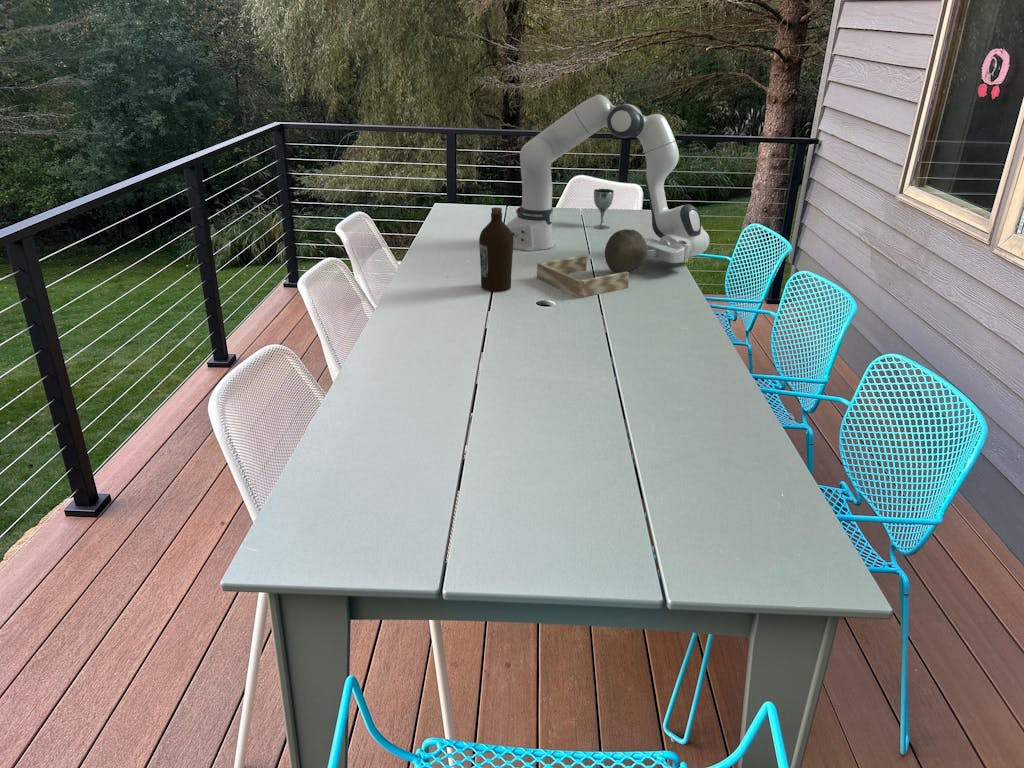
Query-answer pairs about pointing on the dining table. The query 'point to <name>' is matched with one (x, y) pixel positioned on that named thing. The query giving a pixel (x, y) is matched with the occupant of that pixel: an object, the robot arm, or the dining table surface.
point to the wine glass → (603, 203)
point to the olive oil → (496, 254)
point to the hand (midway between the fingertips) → (640, 253)
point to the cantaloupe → (625, 251)
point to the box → (559, 278)
